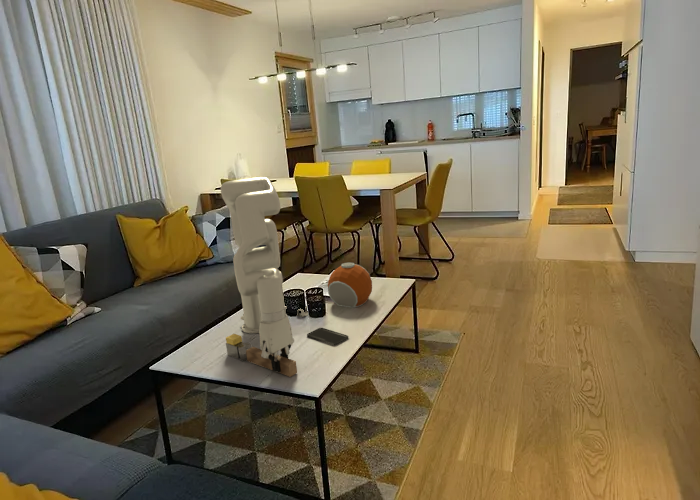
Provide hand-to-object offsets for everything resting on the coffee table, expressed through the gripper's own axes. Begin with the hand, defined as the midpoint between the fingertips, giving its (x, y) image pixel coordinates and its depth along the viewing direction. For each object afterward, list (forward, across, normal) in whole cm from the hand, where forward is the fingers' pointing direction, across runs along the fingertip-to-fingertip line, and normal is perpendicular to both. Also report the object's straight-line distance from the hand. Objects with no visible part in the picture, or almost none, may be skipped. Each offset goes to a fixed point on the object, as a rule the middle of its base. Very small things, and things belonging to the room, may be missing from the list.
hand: (281, 368), depth 150 cm
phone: (+2, -26, -3) cm, 26 cm away
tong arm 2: (+1, -1, -5) cm, 5 cm away
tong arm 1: (+1, +1, -5) cm, 5 cm away
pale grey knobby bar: (+1, -41, -37) cm, 55 cm away
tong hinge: (+1, 0, -20) cm, 20 cm away
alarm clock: (+1, -58, -18) cm, 61 cm away
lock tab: (-4, 0, -23) cm, 23 cm away
